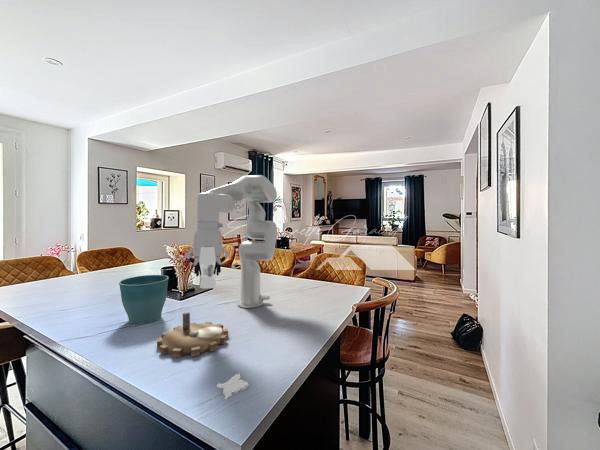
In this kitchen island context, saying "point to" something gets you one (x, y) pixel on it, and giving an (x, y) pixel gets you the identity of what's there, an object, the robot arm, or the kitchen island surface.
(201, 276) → the beer glass
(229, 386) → the acanthus leaf ornament
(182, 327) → the sprocket wheel
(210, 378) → the kitchen island surface
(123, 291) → the flower pot
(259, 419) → the kitchen island surface
